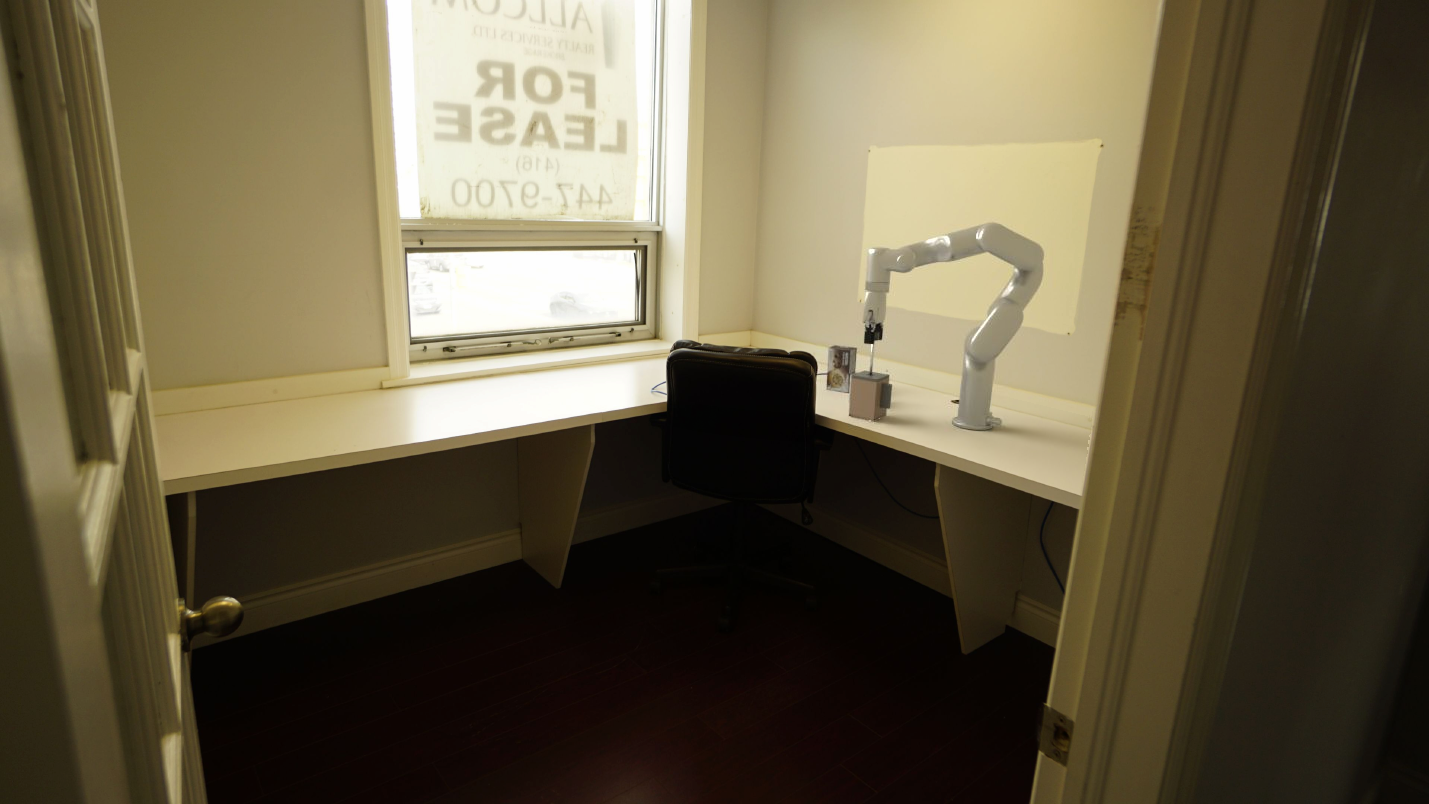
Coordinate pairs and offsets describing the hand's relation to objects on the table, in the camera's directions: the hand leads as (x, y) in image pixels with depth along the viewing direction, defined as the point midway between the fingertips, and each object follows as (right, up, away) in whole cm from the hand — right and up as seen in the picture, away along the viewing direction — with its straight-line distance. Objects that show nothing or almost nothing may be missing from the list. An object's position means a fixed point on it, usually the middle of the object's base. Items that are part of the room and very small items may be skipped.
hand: (873, 341), depth 248 cm
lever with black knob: (0, -13, +4) cm, 14 cm away
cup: (0, -20, +23) cm, 30 cm away
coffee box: (-4, -15, +41) cm, 44 cm away
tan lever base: (+1, -24, +6) cm, 25 cm away
